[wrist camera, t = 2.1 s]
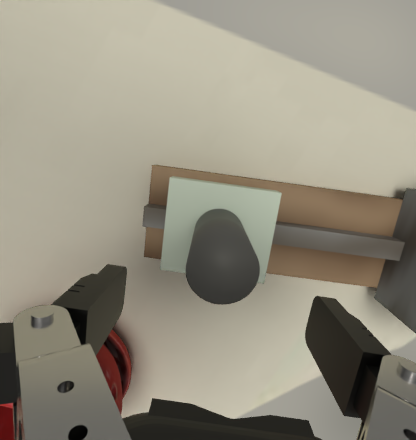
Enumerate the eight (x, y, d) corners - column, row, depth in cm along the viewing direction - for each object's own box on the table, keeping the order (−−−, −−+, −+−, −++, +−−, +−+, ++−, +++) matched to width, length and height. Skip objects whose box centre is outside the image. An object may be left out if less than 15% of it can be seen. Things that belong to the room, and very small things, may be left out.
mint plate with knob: (175, 175, 22) (146, 187, 12) (272, 188, 22) (319, 211, 13) (166, 256, 24) (134, 323, 14) (257, 268, 24) (289, 343, 14)
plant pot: (163, 383, 29) (131, 535, 17) (54, 420, 30) (-45, 586, 18) (108, 276, 26) (25, 370, 15) (-9, 321, 28) (-171, 442, 16)
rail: (157, 146, 24) (108, 134, 12) (474, 190, 24) (703, 218, 13) (146, 261, 26) (97, 339, 15) (436, 299, 26) (602, 403, 15)
